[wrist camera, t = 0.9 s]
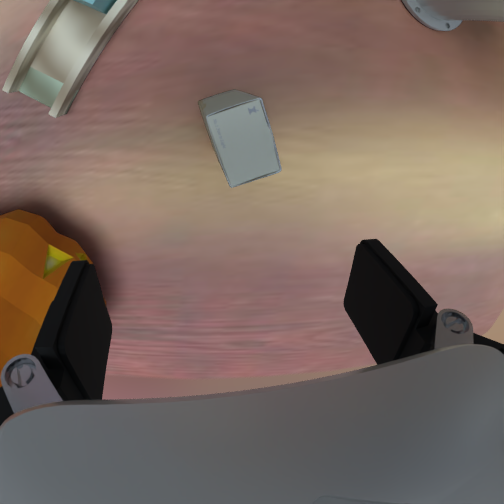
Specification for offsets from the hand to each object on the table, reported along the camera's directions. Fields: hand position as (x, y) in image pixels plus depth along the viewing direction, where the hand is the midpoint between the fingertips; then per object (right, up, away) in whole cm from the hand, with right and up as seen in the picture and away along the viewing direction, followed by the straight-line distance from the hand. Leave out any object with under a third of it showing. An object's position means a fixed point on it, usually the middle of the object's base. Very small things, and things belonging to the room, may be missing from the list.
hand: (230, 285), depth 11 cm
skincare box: (-2, +15, +22) cm, 27 cm away
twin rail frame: (-17, +25, +12) cm, 33 cm away
